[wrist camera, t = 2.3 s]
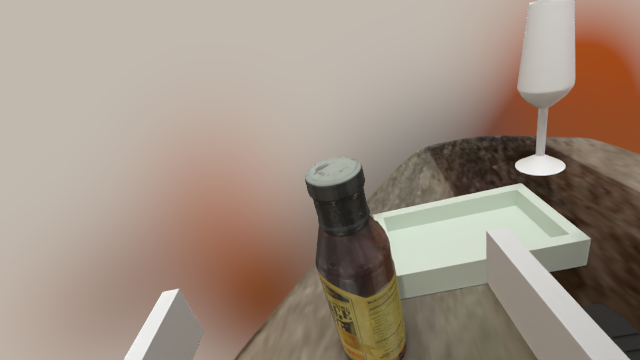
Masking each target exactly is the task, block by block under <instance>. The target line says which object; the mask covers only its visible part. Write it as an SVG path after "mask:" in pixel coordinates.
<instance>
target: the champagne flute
mask: <svg viewBox="0 0 640 360" xmlns="http://www.w3.org/2000/svg"><path fill="white" fill-rule="evenodd" d="M574 83H575V0H538V1H535V2H532V3H529V7H528V13H527V21H526V28H525V35H524V42H523V49H522V58H521V64H520V71H519V78H518V86H517V89H518V91H519V93H520V95H521V96H522V97H523V98H524V99H525V100H526V101H528V102H529V103H530V104H532V105H533V106H535V107H538V108H539V109H538V125H537V141H536V154H535V155H532V156H529V157H526V158H523V159H521V160H519V161H517V162H516V164H515V167H516V169H517V170H519V171H520V172H523V173H526V174H530V175H540V176H544V175H553V174H556V173H559V172H561V171H563V170H564V169H565V164H564V162H562V161H561V160H559V159H556V158H553V157H551V156H548V155H545V143H546V130H547V117H548V107H550V106H552V105H554V104H555V103H556V102H558V101H559V100H560V99H562V98H563V97H564V96H566V95H567V94H568V92H569V91H570V90H571V89H572V87H573V86H574Z"/></svg>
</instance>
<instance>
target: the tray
mask: <svg viewBox="0 0 640 360" xmlns="http://www.w3.org/2000/svg"><path fill="white" fill-rule="evenodd" d="M373 217H374V220H376V221H378V222H379V224H380V225H381V226H382V227H383V229H384V230H385V232H386V234H387V236H388V239H389V242H390V248H391V255H392V259H393V261H394V264H395V270H396V276H397V282H398V288H399V294H400V299H405V298H410V297H416V296H421V295H427V294H432V293H438V292H443V291H449V290H454V289H460V288H465V287H470V286H476V285H481V284H487V281H486V230H491V229H496V228H502V227H507V228H508V229H509V230H510V231H511V232H512V233H513V235H514V236H515V237H516V238H517V239H518V240H519V241H520V242H521V243H522V244H523V245H524V246H525V247H526V249H527V250H528V251H529V252H530V253H531V254H532V255H533V256H534V257H535V258H536V259H537V260H538V261H539V262H540V264H541V265H542V266H543V267H544V268H545V269H546V270H547V271H548V272H552V271H558V270H563V269H569V268H574V267H580V266H585V265H587V260H588V254H589V248H590V242H591V239H590V238H589V237H588V236H587V235H585V234H584V233H583V232H582V231H580V230H579V229H578V228H577V227H575V226H574V225H573V224H572V223H570V222H569V221H568V220H567V219H565V218H564V217H563V216H562V215H560V214H559V213H558V212H556V211H555V210H554V209H553V208H551V207H550V206H549V205H548V204H546V203H545V202H544V201H543V200H541V199H540V198H539V197H538V196H536V195H535V194H534V193H533V192H531V191H530V190H529V189H528V188H526V187H525V186H524V185H523V184H521V183H520V184H516V185H511V186H506V187H501V188H497V189H492V190H487V191H483V192H478V193H473V194H469V195H464V196H459V197H454V198H450V199H445V200H440V201H436V202H431V203H426V204H422V205H417V206H412V207H408V208H403V209H398V210H393V211H389V212H384V213H379V214H375V215H373Z"/></svg>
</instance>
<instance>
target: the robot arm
mask: <svg viewBox="0 0 640 360" xmlns="http://www.w3.org/2000/svg"><path fill="white" fill-rule="evenodd" d="M486 281H487V283H488V284H489V286H490V287H491V289H492V290H493V292H494V294H495V295H496V297H497V298H498V300H499V301H500V303H501V304H502V306H503V307H504V309H505V310H506V312H507V313H508V315H509V316H510V318H511V319H512V321H513V322H514V324H515V326H516V327H517V329H518V330H519V332H520V333H521V335H522V336H523V338H524V339H525V341H526V342H527V344H528V345H529V347H530V348H531V350H532V351H533V353H534V354H535V356H536V357H537V359H538V360H640V334H639V332H638V331H637V330H636V329H635V328H634V327H633V326H632V325H631V324H630V323H629V322H628V321H627V320H626V319H624V318H623V317H622V316H621V315H619V314H618V313H616V312H614V311H612V310H611V309H609V308H607V307H606V306H604V305H602V304H601V303H598V304H592V305H586V306H580V305H579V304H578V303H577V302H576V301H575V300H574V299H573V298H572V297H571V296H570V295H569V294H568V293H567V291H566V290H565V289H564V288H563V287H562V286H561V285H560V284H559V283H558V282H557V281H556V280H555V279H554V277H553V276H552V275H551V274H550V273H549V272H548V271H547V270H546V269H545V268H544V267H543V266H542V265H541V264H540V262H539V261H538V260H537V259H536V258H535V257H534V256H533V255H532V254H531V253H530V252H529V251H528V250H527V249H526V247H525V246H524V245H523V244H522V243H521V242H520V241H519V240H518V239H517V238H516V237H515V236H514V235H513V233H512V232H511V231H510V230H509V229H508V228H507V227H502V228H496V229H491V230H486ZM203 331H204V330H203V328H202V327H201V325H200V323H199V321H198V320H197V318H196V316H195V315H194V313H193V311H192V310H191V308H190V306H189V304H188V303H187V301H186V299H185V298H184V296H183V294H182V293H181V291H180V289H175V290H170V291H165V292H163V293H162V295H161V296H160V298H159V300H158V301H157V303H156V305H155V307H154V308H153V310H152V312H151V313H150V315H149V317H148V319H147V320H146V322H145V324H144V325H143V327H142V329H141V331H140V332H139V334H138V336H137V338H136V339H135V341H134V343H133V344H132V346H131V348H130V350H129V352H128V353H127V355H126V357H125V358H124V360H193V358H194V356H195V353H196V350H197V347H198V345H199V342H200V339H201V337H202V334H203Z"/></svg>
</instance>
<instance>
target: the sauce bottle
mask: <svg viewBox="0 0 640 360" xmlns="http://www.w3.org/2000/svg"><path fill="white" fill-rule="evenodd" d="M305 181H306V184H307V189H308V193H309V195H310V196H311V197H312V198H313V200H314V204H315V208H316V211H317V214H318V220H319V230H318V242H317V252H316V267H317V270H318V274H319V277H320V280H321V283H322V286H323V289H324V292H325V295H326V298H327V301H328V304H329V307H330V310H331V313H332V316H333V319H334V322H335V325H336V328H337V331H338V334H339V337H340V340H341V343H342V346H343V348H344V350H345V352H346V353H347V355H348V356H349V357H350V359H351V360H400V358H401V357H402V356H403V354H404V352H405V348H406V346H405V339H406V332H405V325H404V319H403V313H402V307H401V300H400V294H399V288H398V282H397V276H396V270H395V264H394V261H393V259H392V255H391V248H390V242H389V239H388V236H387V234H386V232H385V230H384V229H383V227H382V226H381V225H380V224H379V222H378V221H376V220H374V219H373V218H372V217H371V216H370V215H369V214H370V210H369V207H368V206H367V203H366V198H365V193H364V189H363V186H364V183H365V178H364V174H363V169H362V166H361V163H360V162H358V161H357V160H356V159H354V158H350V157H337V158H331V159H327V160H324V161H322V162H320V163H318V164H315V165H314V166H313V167H312V168H311V169H310V170H309V171H308V172H307V174H306V176H305Z"/></svg>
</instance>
